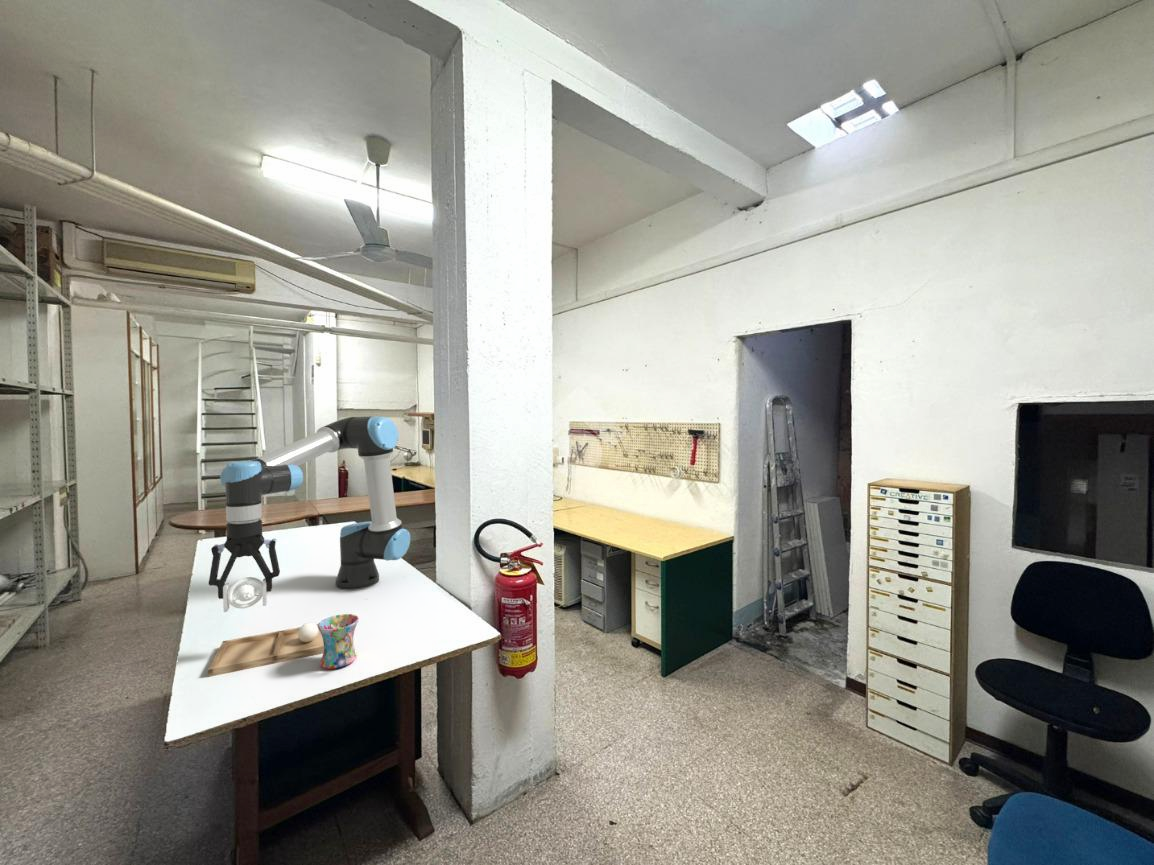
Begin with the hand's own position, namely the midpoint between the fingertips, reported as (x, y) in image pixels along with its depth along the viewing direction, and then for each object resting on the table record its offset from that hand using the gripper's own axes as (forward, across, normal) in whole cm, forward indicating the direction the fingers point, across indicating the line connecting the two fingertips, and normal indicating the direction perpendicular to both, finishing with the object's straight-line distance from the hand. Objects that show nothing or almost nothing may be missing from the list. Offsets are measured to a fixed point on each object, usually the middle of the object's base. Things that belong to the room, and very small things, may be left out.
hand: (246, 606), depth 119 cm
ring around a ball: (0, 0, +1) cm, 1 cm away
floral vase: (+13, -22, +16) cm, 30 cm away
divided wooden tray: (+13, -7, 0) cm, 15 cm away
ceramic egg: (+12, -14, 0) cm, 19 cm away
